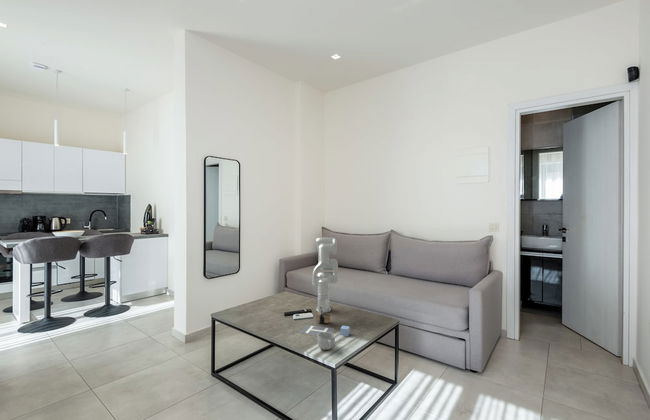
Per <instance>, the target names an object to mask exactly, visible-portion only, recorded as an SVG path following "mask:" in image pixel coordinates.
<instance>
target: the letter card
mask: <svg viewBox="0 0 650 420" xmlns="http://www.w3.org/2000/svg"><path fill="white" fill-rule="evenodd" d="M334 330H335V328H334V327H325V326H318V325H311V324H306V325H305V326H304V327H303V328H302V329H301V330H300V331H299V333H301V334H306V335H312V336H313V335H315V336H318V334H319V333H321V332H330V333H333V332H334Z"/></svg>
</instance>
